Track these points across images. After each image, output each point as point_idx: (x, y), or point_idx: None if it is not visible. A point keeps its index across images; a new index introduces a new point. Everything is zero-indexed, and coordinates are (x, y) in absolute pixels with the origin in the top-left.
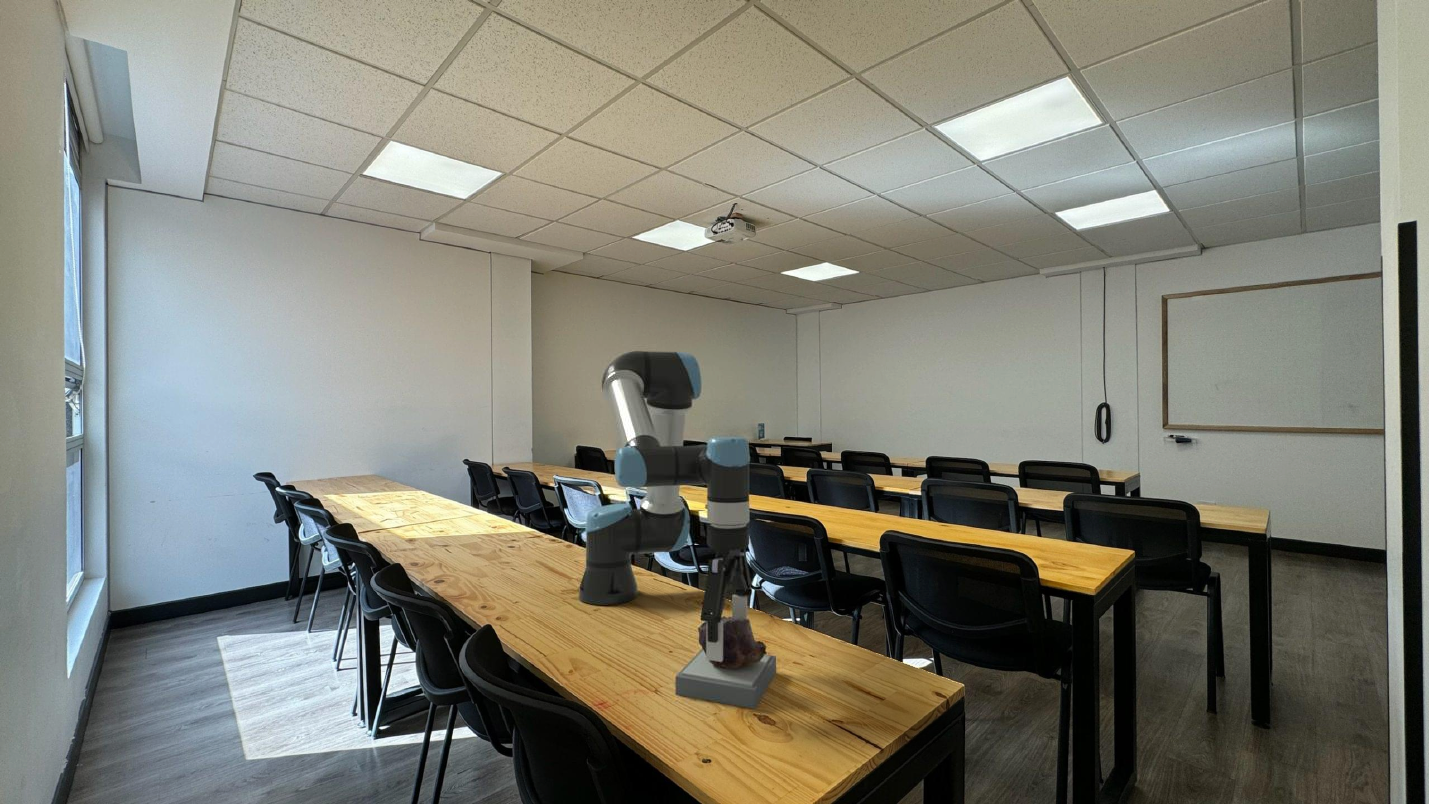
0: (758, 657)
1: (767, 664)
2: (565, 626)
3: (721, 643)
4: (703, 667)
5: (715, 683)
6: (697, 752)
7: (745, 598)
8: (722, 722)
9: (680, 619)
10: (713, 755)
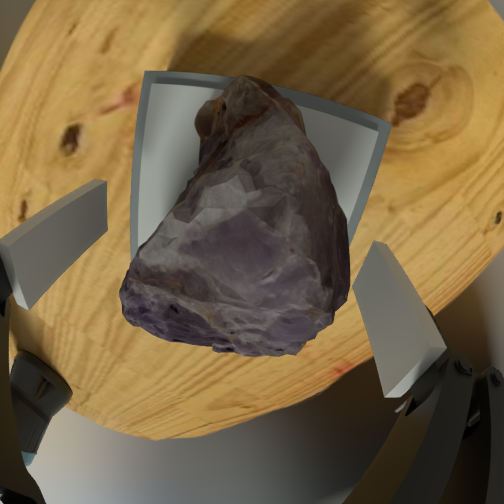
0: (294, 106)
1: (209, 84)
2: (131, 411)
3: (409, 281)
4: None
5: (355, 229)
6: (483, 231)
7: (12, 246)
8: (422, 193)
9: (34, 304)
10: (492, 208)
